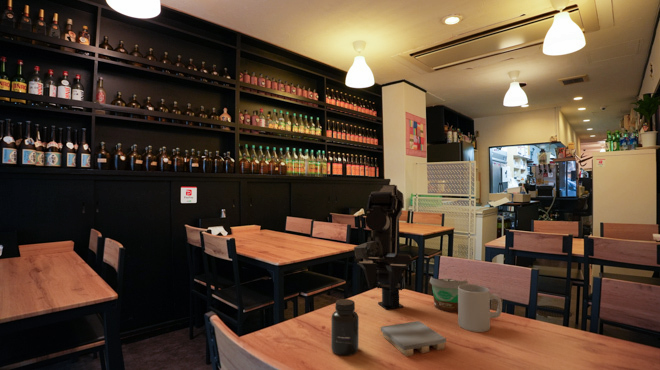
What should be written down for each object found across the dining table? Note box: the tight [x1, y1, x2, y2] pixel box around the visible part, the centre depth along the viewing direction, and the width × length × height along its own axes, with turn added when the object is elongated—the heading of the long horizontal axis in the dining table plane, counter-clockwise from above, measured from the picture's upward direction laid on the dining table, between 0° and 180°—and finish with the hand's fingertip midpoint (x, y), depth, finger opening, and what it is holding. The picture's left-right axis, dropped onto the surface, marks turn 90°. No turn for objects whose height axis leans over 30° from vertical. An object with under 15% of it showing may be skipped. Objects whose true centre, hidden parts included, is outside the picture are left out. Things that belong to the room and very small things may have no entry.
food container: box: [429, 275, 469, 313], centre depth 110 cm, size 12×6×10 cm, turn 68°
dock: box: [380, 320, 447, 357], centre depth 87 cm, size 12×12×2 cm
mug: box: [457, 283, 503, 333], centre depth 97 cm, size 12×8×11 cm
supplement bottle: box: [330, 298, 360, 357], centre depth 84 cm, size 7×7×12 cm
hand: (380, 289), depth 94 cm, fingers open, 9 cm apart
